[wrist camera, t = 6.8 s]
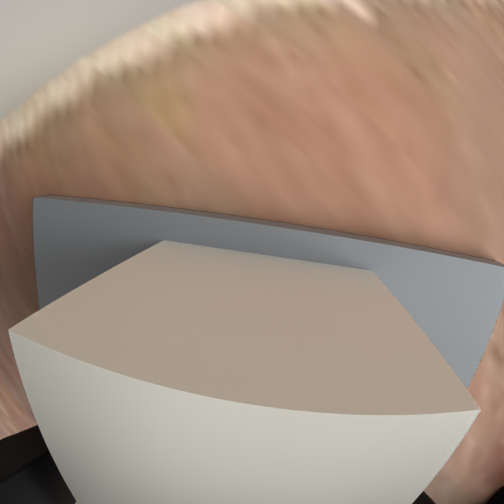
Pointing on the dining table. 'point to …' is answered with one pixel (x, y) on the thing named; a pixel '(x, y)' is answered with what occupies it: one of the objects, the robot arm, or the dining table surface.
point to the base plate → (280, 245)
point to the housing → (238, 384)
